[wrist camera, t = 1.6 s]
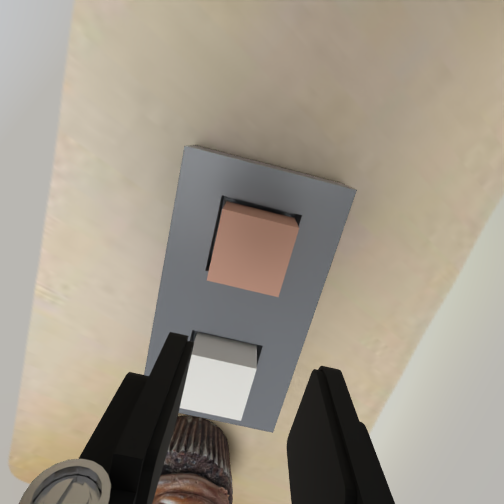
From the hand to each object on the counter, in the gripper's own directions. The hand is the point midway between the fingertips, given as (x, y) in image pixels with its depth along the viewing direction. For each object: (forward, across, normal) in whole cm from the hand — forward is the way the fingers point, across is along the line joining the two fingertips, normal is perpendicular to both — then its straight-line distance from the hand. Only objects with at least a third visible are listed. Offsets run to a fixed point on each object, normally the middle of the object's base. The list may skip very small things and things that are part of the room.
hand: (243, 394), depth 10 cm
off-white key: (+16, 0, +11) cm, 19 cm away
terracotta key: (+16, 0, 0) cm, 16 cm away
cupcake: (+19, +1, +24) cm, 31 cm away
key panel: (+19, 0, +6) cm, 20 cm away
